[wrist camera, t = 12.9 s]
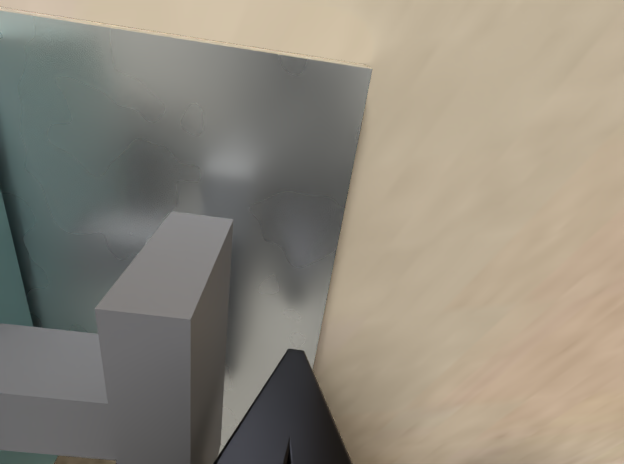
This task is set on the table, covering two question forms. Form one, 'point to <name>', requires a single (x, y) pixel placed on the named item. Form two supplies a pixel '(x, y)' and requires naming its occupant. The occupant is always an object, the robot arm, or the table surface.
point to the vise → (176, 173)
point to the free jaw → (123, 357)
